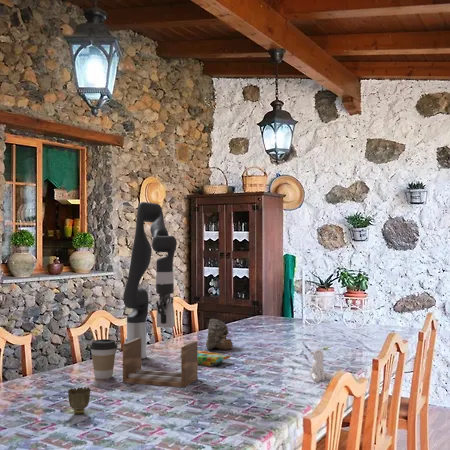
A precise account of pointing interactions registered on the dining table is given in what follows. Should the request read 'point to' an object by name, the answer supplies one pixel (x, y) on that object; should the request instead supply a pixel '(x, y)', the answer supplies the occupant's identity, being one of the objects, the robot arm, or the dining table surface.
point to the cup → (79, 399)
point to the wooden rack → (136, 375)
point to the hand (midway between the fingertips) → (165, 322)
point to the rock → (218, 335)
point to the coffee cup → (103, 357)
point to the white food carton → (167, 317)
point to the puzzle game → (210, 358)
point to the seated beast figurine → (318, 367)
